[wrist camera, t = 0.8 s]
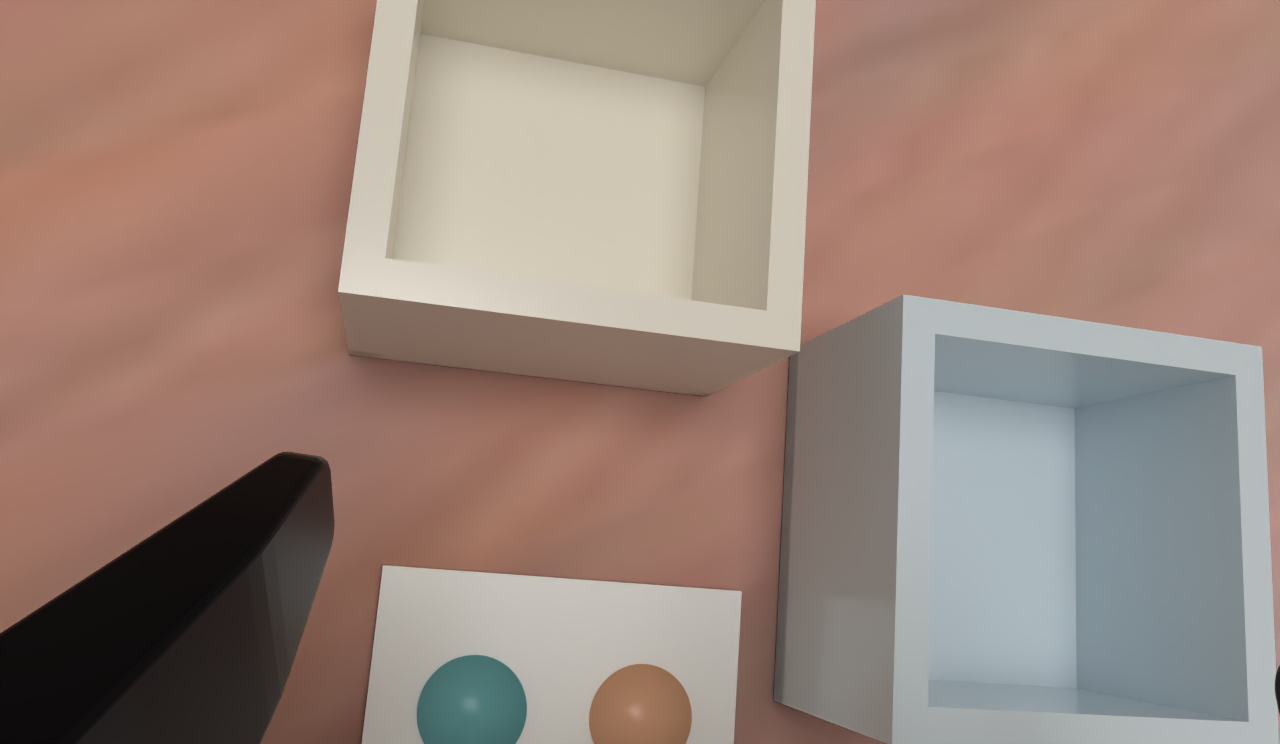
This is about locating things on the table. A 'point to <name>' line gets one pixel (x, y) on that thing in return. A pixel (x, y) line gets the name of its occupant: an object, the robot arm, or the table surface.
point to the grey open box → (1026, 532)
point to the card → (550, 661)
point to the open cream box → (583, 189)
